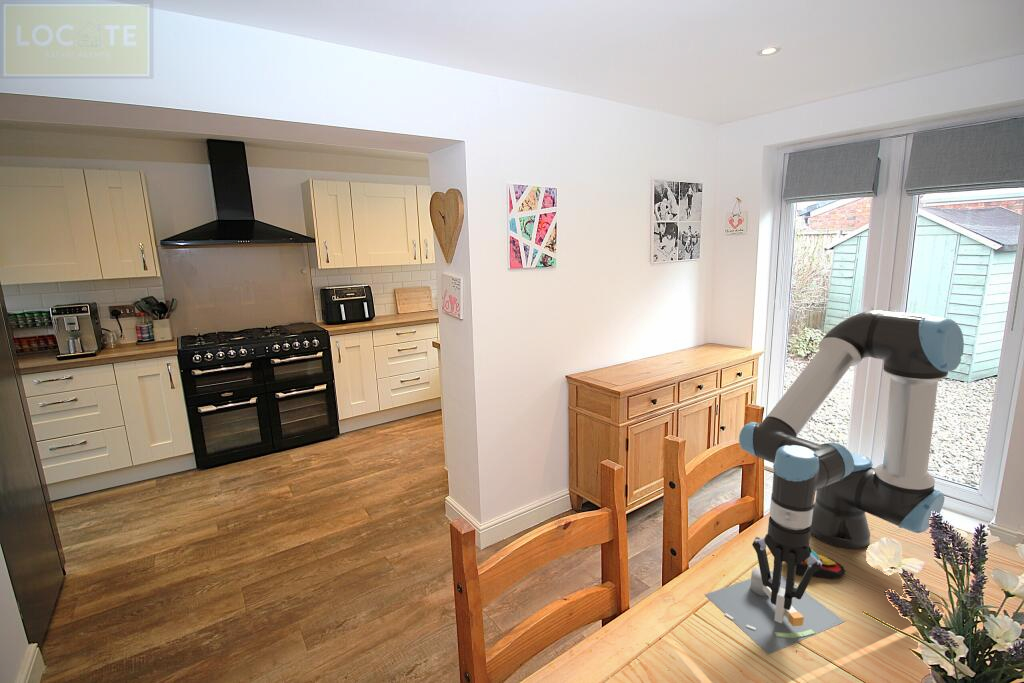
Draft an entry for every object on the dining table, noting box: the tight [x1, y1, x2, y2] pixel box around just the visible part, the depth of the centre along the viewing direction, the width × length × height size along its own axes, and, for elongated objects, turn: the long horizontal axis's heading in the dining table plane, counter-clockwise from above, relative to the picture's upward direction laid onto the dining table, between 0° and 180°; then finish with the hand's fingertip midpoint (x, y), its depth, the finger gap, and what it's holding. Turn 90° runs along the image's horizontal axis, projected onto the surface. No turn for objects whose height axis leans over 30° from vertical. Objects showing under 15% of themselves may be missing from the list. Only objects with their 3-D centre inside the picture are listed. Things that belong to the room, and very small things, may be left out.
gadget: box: [786, 548, 846, 580], centre depth 121 cm, size 6×13×6 cm, turn 74°
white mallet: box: [750, 567, 804, 626], centre depth 109 cm, size 15×4×4 cm, turn 6°
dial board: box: [704, 570, 846, 655], centre depth 110 cm, size 22×18×1 cm
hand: (779, 618), depth 105 cm, fingers closed
